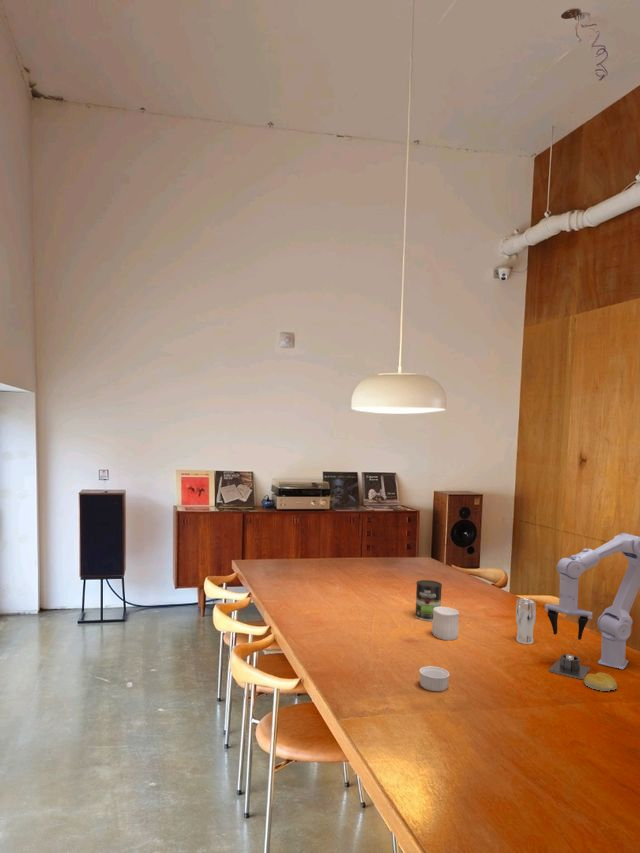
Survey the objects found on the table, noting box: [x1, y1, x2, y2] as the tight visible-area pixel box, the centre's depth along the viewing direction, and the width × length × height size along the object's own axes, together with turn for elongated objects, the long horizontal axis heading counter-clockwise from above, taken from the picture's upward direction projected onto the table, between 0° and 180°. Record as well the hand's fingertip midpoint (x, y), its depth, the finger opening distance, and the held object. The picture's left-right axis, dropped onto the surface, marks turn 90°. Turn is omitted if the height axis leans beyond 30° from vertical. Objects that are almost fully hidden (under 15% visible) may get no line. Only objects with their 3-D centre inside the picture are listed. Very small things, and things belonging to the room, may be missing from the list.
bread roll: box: [583, 671, 618, 692], centre depth 183 cm, size 8×9×4 cm
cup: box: [431, 606, 460, 641], centre depth 224 cm, size 10×10×10 cm
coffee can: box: [415, 579, 443, 622], centre depth 246 cm, size 10×10×14 cm
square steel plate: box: [548, 654, 591, 680], centre depth 195 cm, size 11×10×5 cm
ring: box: [559, 653, 581, 672], centre depth 195 cm, size 6×6×4 cm
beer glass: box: [515, 597, 537, 645], centre depth 221 cm, size 7×7×15 cm
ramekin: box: [418, 665, 450, 692], centre depth 179 cm, size 9×9×4 cm
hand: (567, 636), depth 199 cm, fingers open, 7 cm apart
